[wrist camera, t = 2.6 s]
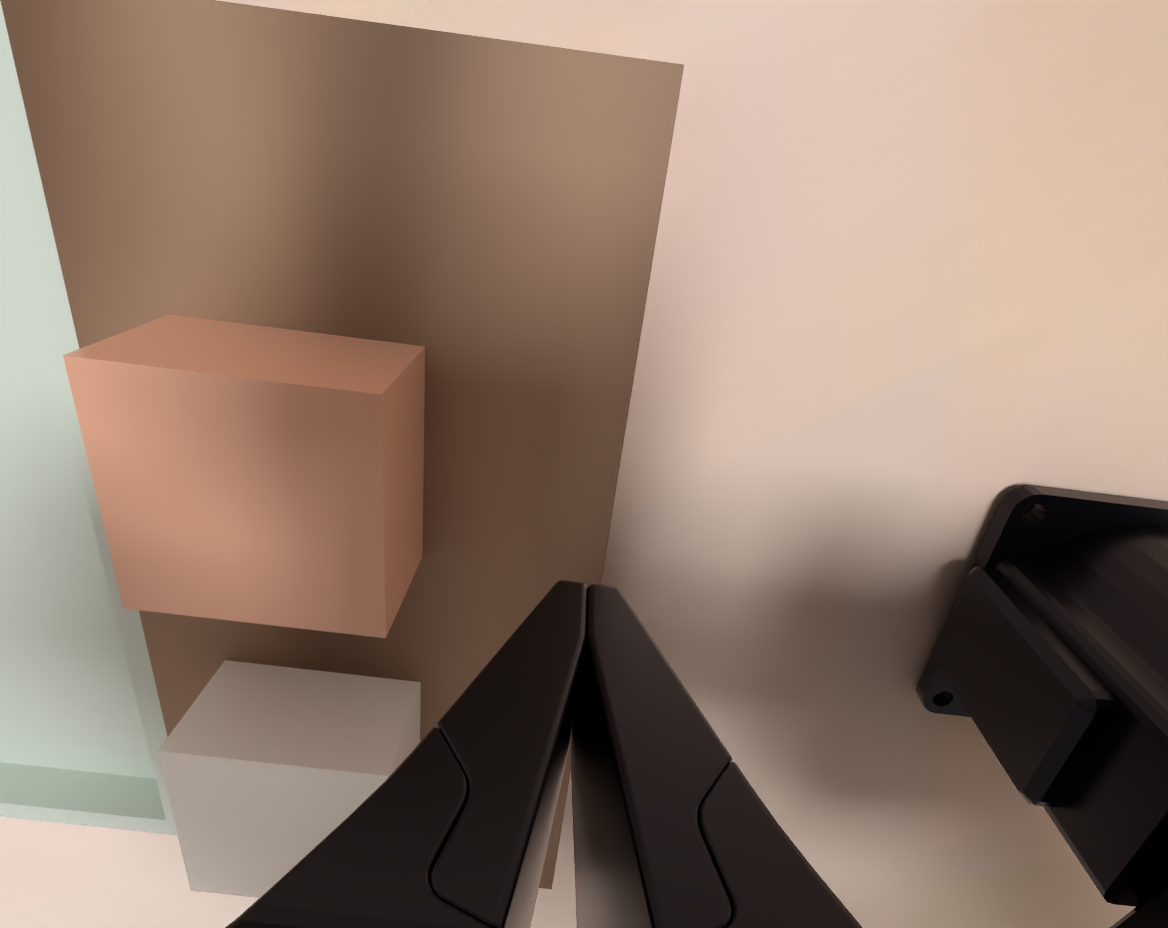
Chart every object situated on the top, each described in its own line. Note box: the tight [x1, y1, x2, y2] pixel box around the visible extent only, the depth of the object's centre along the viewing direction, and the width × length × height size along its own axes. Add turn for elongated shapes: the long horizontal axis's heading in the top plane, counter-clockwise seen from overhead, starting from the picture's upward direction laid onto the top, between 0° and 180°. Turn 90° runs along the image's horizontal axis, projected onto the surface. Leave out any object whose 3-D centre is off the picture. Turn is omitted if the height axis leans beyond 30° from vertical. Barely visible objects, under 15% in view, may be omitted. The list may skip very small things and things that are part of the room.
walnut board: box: [0, 0, 684, 889], centre depth 15 cm, size 10×20×2 cm, turn 173°
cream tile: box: [158, 660, 421, 898], centre depth 15 cm, size 4×4×2 cm
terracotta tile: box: [63, 314, 425, 638], centre depth 11 cm, size 4×4×2 cm
